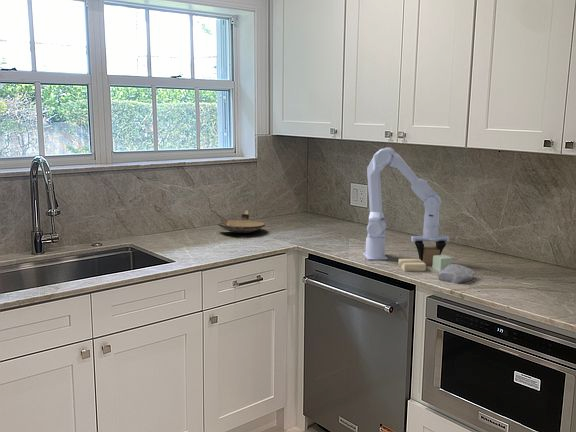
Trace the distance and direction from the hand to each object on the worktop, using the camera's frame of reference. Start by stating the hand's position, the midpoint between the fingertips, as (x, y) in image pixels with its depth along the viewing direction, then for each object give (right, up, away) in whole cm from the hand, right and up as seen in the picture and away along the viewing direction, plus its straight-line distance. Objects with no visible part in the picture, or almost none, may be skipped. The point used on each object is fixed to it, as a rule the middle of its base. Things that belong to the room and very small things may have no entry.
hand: (429, 259), depth 221 cm
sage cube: (+3, -3, -8) cm, 9 cm away
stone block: (+5, -6, -20) cm, 22 cm away
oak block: (-8, -3, -7) cm, 12 cm away
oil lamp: (-76, +9, +53) cm, 93 cm away
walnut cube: (0, -1, 0) cm, 1 cm away
